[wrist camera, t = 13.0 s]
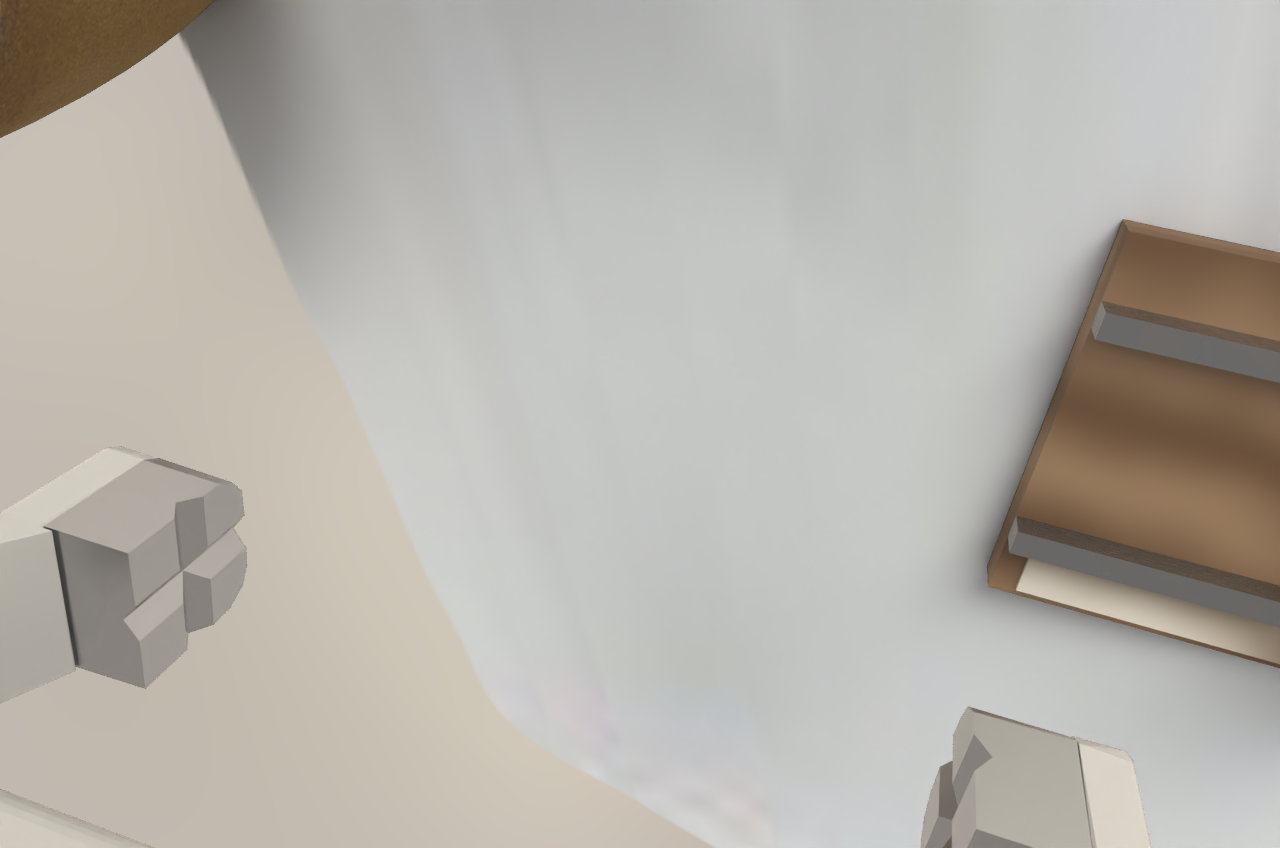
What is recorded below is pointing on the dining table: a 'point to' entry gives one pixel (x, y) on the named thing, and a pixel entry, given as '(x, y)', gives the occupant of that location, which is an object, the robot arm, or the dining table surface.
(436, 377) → the dining table surface
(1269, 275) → the gauge bench
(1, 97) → the plant pot
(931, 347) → the dining table surface
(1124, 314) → the grey long frame
